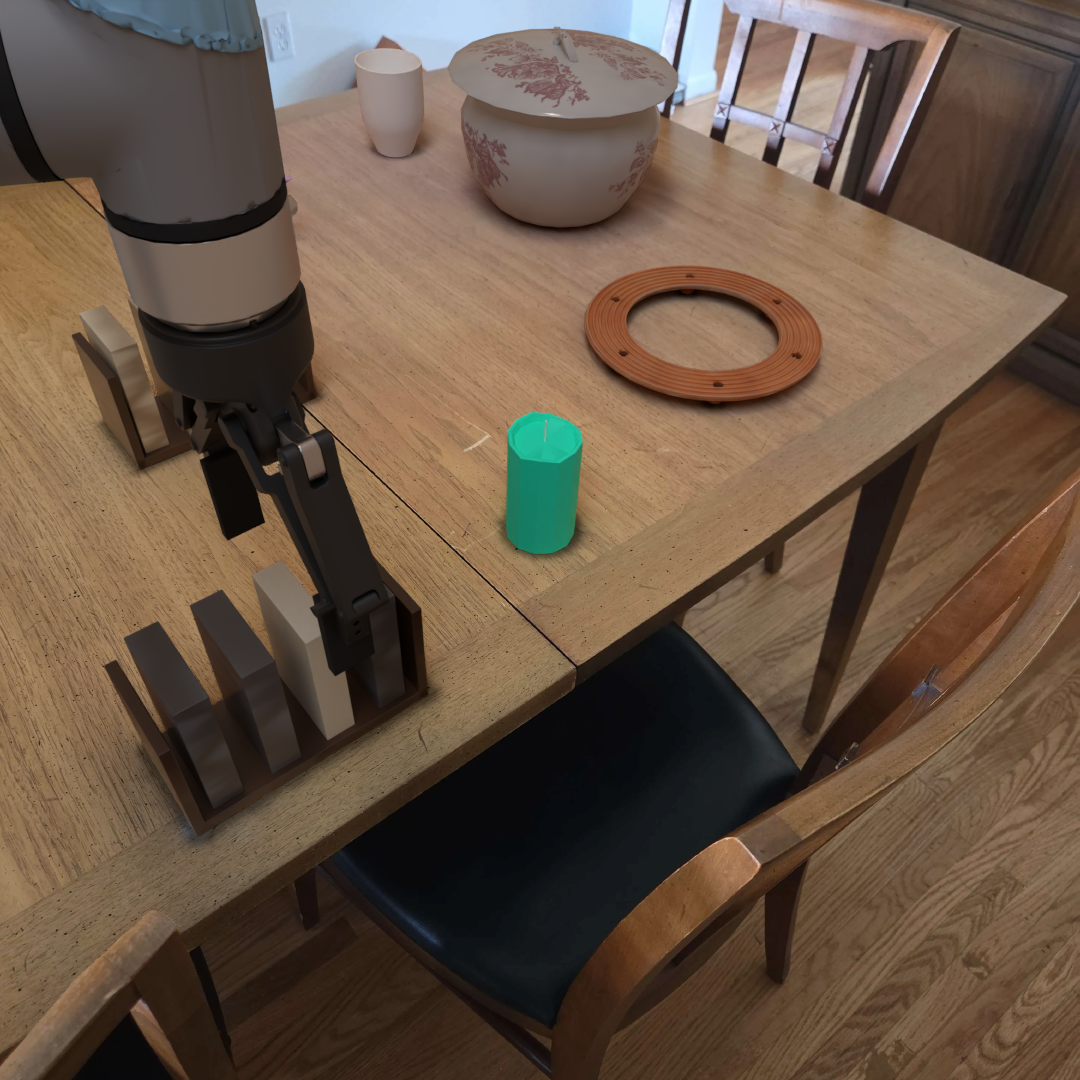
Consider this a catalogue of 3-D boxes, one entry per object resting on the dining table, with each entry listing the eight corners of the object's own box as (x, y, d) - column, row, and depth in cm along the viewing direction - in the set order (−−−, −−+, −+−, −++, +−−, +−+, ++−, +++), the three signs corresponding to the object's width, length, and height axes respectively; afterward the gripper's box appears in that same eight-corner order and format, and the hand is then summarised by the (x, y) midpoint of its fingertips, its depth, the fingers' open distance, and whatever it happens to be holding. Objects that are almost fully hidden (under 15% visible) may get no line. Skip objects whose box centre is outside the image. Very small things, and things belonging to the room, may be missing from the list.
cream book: (327, 740, 64) (305, 643, 56) (278, 674, 68) (250, 574, 60) (355, 724, 65) (337, 626, 57) (305, 659, 69) (281, 559, 61)
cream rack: (139, 470, 83) (99, 359, 75) (105, 424, 88) (63, 314, 79) (316, 397, 92) (299, 290, 83) (277, 358, 96) (256, 252, 87)
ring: (536, 324, 102) (537, 305, 100) (701, 259, 113) (704, 241, 112) (696, 448, 89) (700, 428, 87) (865, 361, 100) (872, 342, 98)
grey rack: (197, 837, 60) (148, 737, 51) (146, 750, 64) (93, 645, 55) (428, 694, 68) (420, 588, 59) (370, 626, 72) (354, 517, 64)
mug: (409, 168, 127) (403, 76, 118) (351, 156, 129) (341, 64, 120) (444, 136, 135) (441, 47, 126) (389, 124, 137) (383, 36, 128)
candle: (495, 513, 81) (496, 405, 73) (558, 498, 83) (567, 390, 74) (519, 561, 78) (523, 453, 69) (585, 545, 79) (597, 436, 71)
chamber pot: (580, 280, 109) (595, 97, 94) (407, 206, 120) (396, 31, 105) (701, 197, 125) (730, 29, 110) (538, 138, 136) (544, -22, 121)
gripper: (445, 393, 38) (461, 691, 53) (181, 167, 51) (255, 460, 66) (278, 468, 34) (347, 764, 50) (41, 206, 47) (153, 504, 63)
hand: (294, 591), depth 58 cm, fingers open, 13 cm apart
